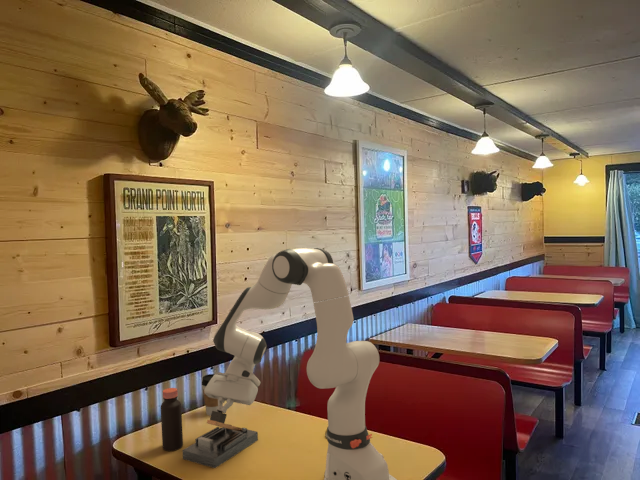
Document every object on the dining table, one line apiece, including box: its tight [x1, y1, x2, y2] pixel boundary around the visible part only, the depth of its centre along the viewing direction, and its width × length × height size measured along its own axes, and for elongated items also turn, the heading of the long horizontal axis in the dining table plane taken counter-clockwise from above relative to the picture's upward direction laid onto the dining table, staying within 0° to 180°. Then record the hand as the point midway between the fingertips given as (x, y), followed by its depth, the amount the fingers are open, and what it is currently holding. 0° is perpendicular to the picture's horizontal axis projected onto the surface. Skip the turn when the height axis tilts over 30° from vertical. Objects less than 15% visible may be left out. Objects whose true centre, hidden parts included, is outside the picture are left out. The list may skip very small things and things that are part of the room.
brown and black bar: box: [206, 411, 243, 432], centre depth 168 cm, size 4×4×15 cm
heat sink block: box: [182, 423, 259, 469], centre depth 166 cm, size 22×14×6 cm, turn 150°
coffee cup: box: [201, 373, 221, 417], centre depth 199 cm, size 8×8×15 cm
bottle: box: [160, 387, 184, 452], centre depth 169 cm, size 7×7×20 cm
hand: (220, 412), depth 166 cm, fingers closed, pressing on brown and black bar
